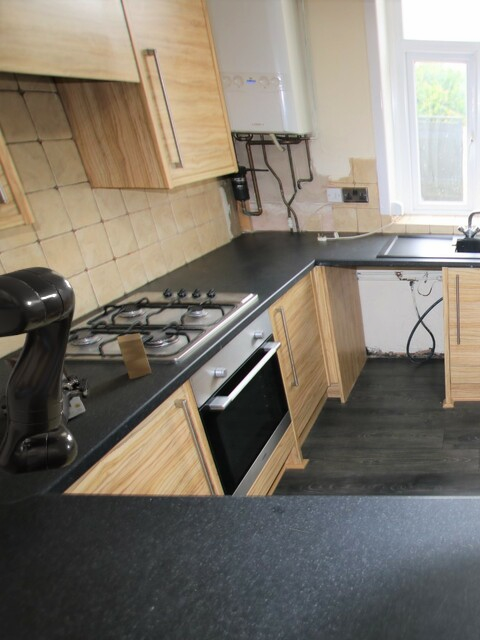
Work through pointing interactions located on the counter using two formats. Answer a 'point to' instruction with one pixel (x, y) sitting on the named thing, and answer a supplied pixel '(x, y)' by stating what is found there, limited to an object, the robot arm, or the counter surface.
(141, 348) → the birch block
